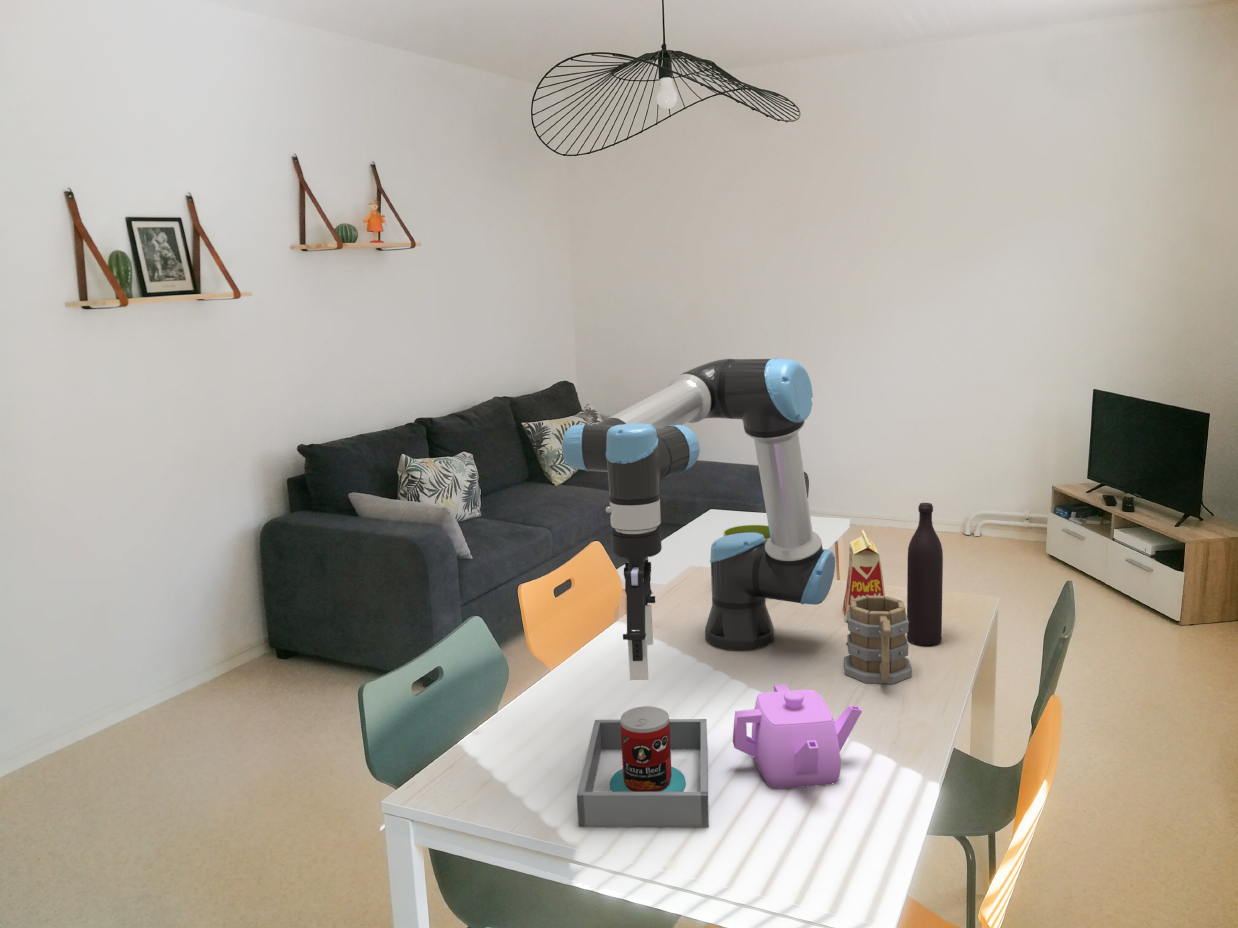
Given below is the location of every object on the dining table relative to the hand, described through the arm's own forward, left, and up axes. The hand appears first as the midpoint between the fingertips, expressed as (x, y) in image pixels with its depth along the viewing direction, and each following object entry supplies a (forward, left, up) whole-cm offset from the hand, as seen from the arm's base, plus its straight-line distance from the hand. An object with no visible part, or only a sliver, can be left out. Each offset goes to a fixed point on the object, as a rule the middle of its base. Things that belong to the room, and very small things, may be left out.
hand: (642, 660), depth 144 cm
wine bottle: (-58, +56, -21) cm, 83 cm away
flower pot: (-91, +22, -21) cm, 96 cm away
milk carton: (-73, +46, -21) cm, 89 cm away
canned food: (0, 0, -20) cm, 20 cm away
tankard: (-39, +43, -21) cm, 62 cm away
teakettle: (-5, +24, -21) cm, 32 cm away
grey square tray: (0, 0, -21) cm, 21 cm away
